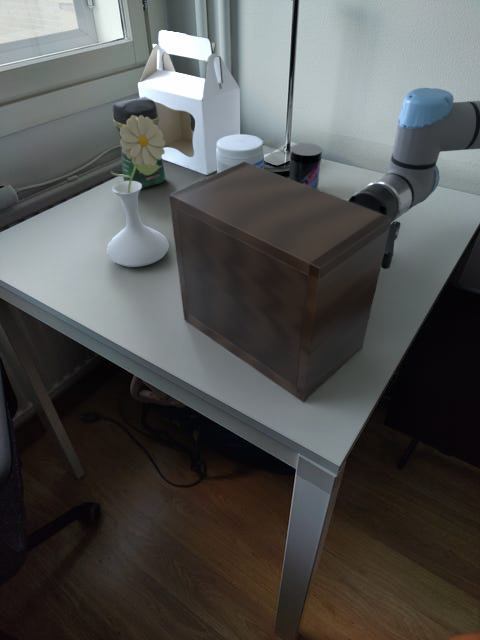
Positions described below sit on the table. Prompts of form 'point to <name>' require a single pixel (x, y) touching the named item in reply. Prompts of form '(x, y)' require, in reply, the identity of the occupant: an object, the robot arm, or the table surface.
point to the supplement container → (305, 164)
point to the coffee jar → (120, 117)
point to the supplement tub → (239, 151)
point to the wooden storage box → (277, 272)
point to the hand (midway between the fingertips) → (299, 256)
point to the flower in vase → (136, 239)
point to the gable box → (191, 101)
